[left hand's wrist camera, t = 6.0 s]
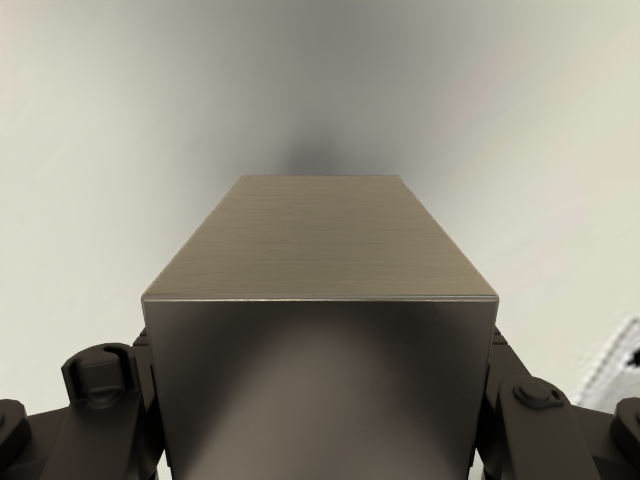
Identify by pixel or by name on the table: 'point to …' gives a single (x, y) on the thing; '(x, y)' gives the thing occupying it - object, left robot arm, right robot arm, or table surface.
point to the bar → (320, 336)
